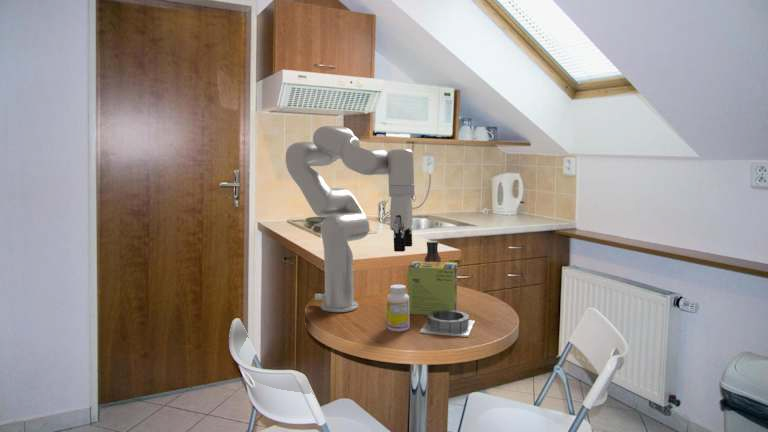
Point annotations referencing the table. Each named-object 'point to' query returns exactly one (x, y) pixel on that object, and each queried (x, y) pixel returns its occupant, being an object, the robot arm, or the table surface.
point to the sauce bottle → (432, 252)
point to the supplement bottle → (398, 309)
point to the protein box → (432, 287)
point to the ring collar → (448, 323)
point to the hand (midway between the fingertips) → (403, 248)
